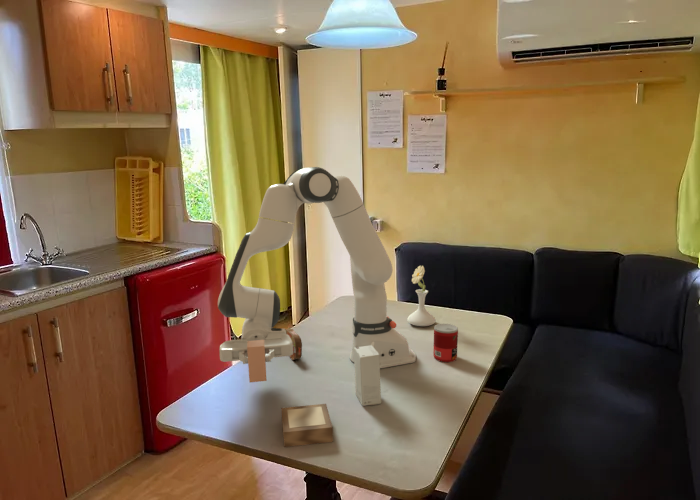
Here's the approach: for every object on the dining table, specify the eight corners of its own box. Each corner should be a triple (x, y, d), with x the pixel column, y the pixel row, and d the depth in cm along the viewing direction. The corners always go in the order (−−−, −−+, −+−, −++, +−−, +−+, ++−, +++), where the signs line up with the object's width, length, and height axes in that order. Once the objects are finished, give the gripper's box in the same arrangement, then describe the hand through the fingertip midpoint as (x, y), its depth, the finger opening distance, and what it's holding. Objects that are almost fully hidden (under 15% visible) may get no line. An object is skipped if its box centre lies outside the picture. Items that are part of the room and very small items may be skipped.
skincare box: (381, 404, 149) (381, 355, 146) (360, 407, 148) (360, 357, 145) (373, 390, 157) (373, 344, 154) (353, 393, 156) (353, 346, 153)
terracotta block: (266, 373, 146) (264, 339, 144) (266, 380, 142) (264, 345, 139) (249, 375, 145) (247, 341, 143) (249, 382, 141) (247, 347, 139)
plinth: (326, 417, 143) (326, 403, 142) (332, 441, 131) (332, 426, 130) (281, 421, 141) (281, 407, 140) (284, 447, 129) (283, 431, 128)
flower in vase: (407, 318, 219) (408, 260, 214) (435, 319, 218) (436, 260, 213) (406, 329, 207) (407, 267, 202) (435, 330, 205) (437, 268, 200)
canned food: (456, 363, 176) (458, 332, 173) (432, 361, 177) (433, 330, 175) (457, 354, 183) (458, 324, 181) (433, 352, 185) (434, 322, 182)
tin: (282, 348, 190) (281, 326, 189) (290, 346, 191) (290, 324, 190) (295, 364, 177) (294, 340, 175) (304, 362, 178) (303, 338, 176)
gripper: (219, 333, 152) (216, 352, 139) (290, 328, 156) (293, 345, 142) (221, 354, 154) (217, 374, 140) (291, 348, 157) (294, 367, 144)
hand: (256, 360), depth 141 cm, fingers closed on terracotta block, 4 cm apart
